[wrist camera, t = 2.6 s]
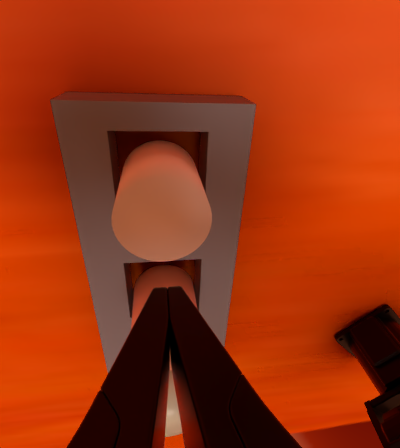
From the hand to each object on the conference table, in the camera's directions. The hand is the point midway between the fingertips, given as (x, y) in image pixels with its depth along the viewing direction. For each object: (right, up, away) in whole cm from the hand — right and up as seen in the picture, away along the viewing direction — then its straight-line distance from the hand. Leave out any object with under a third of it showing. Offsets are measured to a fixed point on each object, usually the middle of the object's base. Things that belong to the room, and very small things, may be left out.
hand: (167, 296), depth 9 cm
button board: (-2, -1, +14) cm, 15 cm away
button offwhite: (-1, +5, +8) cm, 9 cm away
